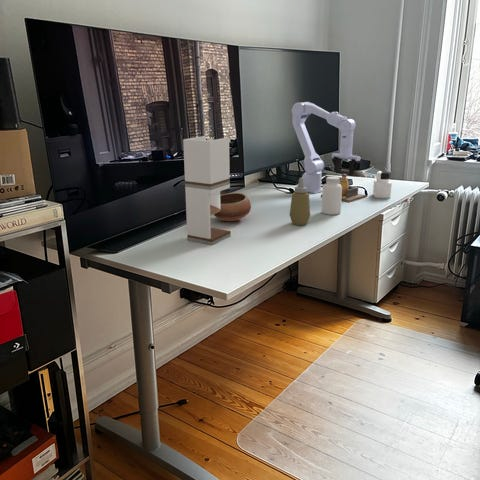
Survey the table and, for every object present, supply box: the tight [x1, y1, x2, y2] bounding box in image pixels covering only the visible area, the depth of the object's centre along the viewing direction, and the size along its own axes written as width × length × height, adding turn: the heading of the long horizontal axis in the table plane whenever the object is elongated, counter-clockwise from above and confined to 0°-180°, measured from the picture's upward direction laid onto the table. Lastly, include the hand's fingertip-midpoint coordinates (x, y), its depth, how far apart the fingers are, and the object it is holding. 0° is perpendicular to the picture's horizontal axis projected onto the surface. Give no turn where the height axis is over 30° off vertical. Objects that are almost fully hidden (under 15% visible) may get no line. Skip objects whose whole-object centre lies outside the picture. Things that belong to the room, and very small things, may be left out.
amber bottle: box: [338, 173, 350, 196], centre depth 230 cm, size 5×5×10 cm
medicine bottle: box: [372, 170, 392, 199], centre depth 232 cm, size 7×7×12 cm
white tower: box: [182, 135, 231, 246], centre depth 168 cm, size 11×11×35 cm
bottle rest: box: [320, 185, 367, 203], centre depth 232 cm, size 16×14×4 cm
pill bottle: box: [321, 176, 342, 216], centre depth 203 cm, size 8×8×15 cm
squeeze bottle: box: [289, 177, 311, 226], centre depth 187 cm, size 8×8×18 cm
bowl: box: [212, 192, 252, 222], centre depth 194 cm, size 16×16×10 cm
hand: (344, 174), depth 232 cm, fingers open, 7 cm apart
